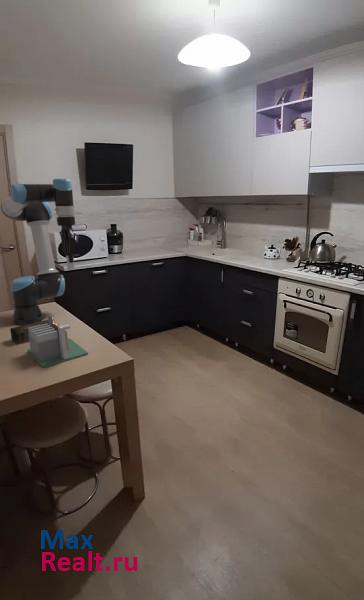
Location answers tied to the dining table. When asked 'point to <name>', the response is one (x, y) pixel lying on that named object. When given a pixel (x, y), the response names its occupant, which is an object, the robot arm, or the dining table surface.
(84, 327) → the dining table surface
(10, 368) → the dining table surface
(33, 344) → the heat sink
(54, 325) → the hinge
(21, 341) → the beverage carton
